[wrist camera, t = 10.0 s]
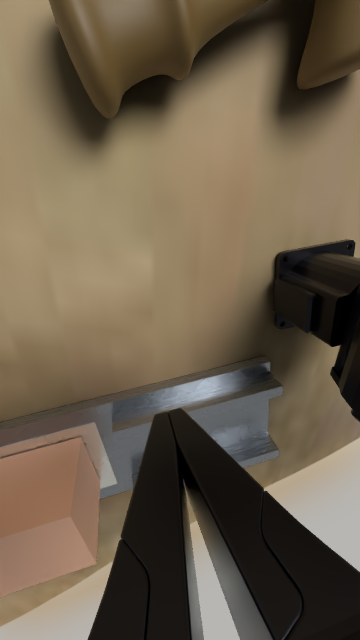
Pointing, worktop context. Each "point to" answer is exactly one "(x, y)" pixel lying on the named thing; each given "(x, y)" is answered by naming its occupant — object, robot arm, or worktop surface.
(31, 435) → the chute
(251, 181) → the worktop surface
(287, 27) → the worktop surface
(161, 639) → the robot arm
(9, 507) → the block
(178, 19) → the kendama
